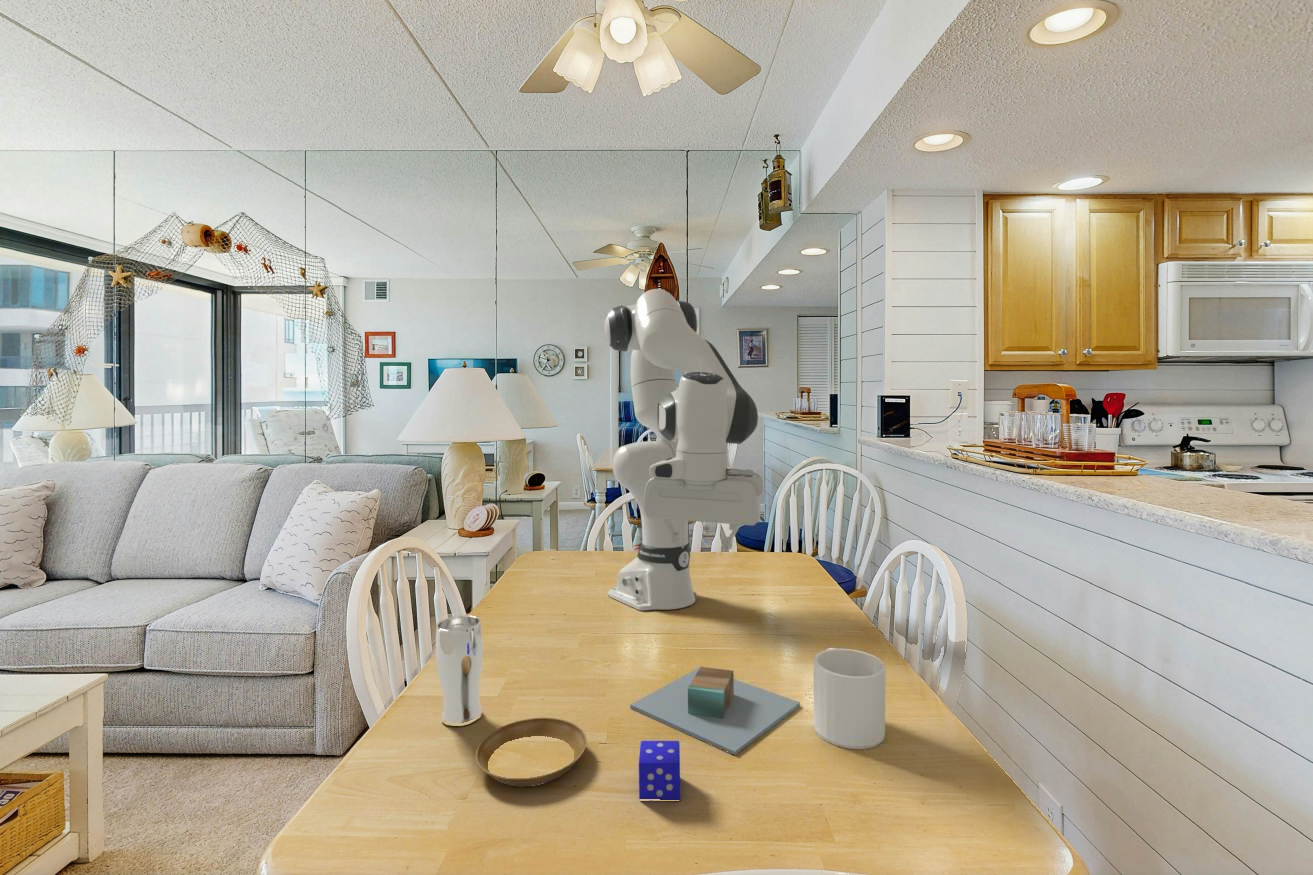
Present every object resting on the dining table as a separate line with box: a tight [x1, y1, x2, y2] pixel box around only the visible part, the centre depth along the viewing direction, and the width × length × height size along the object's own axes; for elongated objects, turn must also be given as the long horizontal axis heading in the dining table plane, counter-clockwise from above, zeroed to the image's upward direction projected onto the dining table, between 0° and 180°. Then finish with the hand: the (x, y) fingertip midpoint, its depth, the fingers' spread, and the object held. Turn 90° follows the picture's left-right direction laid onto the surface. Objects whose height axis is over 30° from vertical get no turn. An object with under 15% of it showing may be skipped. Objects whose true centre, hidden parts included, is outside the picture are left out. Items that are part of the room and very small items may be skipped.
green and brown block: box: [688, 666, 735, 719], centre depth 97 cm, size 4×6×8 cm
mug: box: [813, 647, 887, 750], centre depth 91 cm, size 13×10×10 cm
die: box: [638, 740, 681, 801], centre depth 77 cm, size 5×5×5 cm
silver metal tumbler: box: [435, 614, 484, 723], centre depth 95 cm, size 7×7×15 cm
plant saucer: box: [475, 717, 588, 787], centre depth 83 cm, size 15×15×3 cm
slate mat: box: [629, 666, 801, 756], centre depth 98 cm, size 20×18×1 cm
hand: (700, 545), depth 107 cm, fingers open, 8 cm apart
